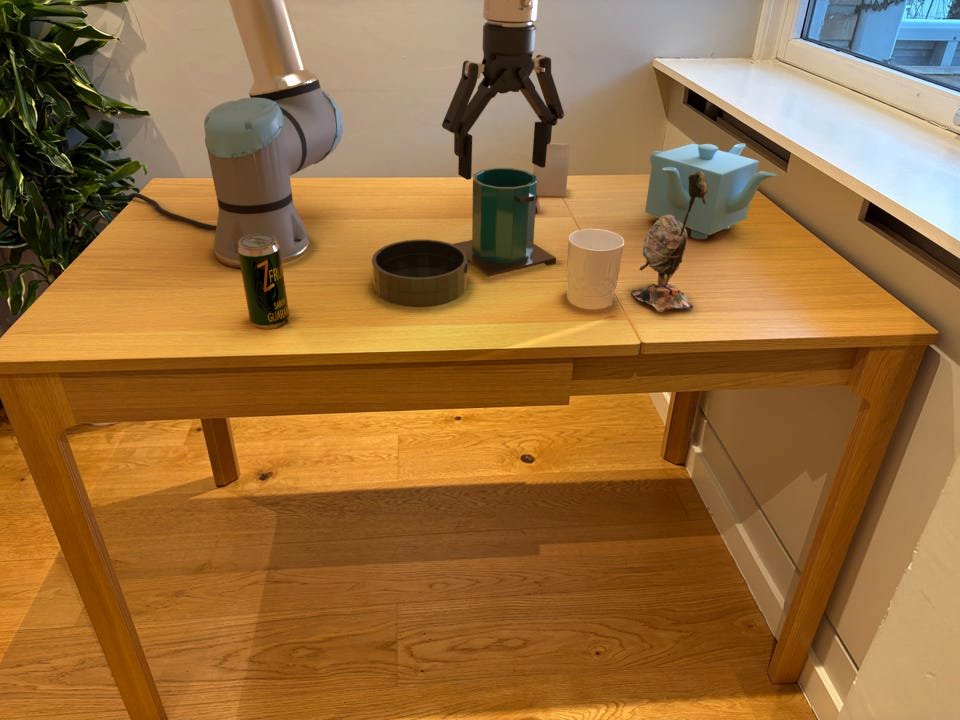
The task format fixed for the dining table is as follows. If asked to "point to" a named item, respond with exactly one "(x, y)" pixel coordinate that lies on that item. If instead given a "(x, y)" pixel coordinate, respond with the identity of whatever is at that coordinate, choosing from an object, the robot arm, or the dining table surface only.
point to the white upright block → (553, 171)
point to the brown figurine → (668, 253)
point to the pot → (503, 215)
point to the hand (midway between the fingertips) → (502, 171)
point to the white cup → (593, 267)
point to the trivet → (494, 268)
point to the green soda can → (263, 280)
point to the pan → (420, 272)
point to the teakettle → (725, 178)
